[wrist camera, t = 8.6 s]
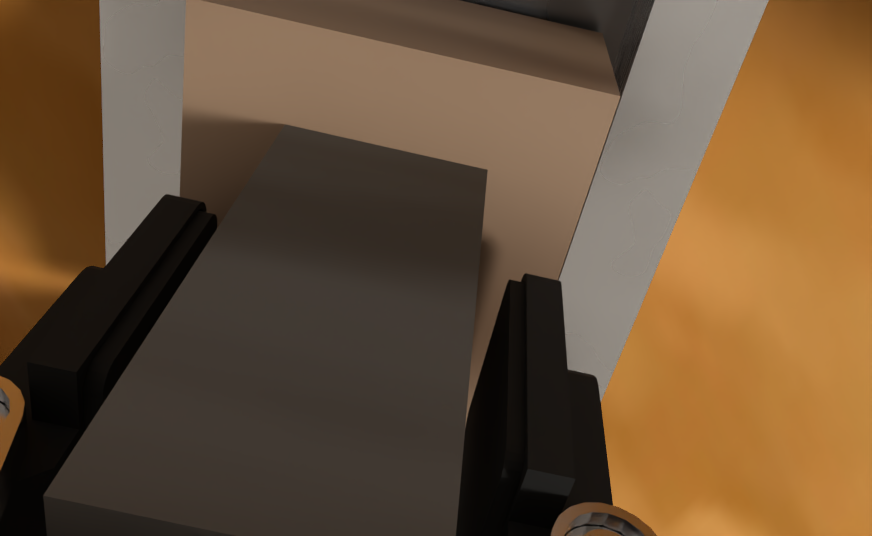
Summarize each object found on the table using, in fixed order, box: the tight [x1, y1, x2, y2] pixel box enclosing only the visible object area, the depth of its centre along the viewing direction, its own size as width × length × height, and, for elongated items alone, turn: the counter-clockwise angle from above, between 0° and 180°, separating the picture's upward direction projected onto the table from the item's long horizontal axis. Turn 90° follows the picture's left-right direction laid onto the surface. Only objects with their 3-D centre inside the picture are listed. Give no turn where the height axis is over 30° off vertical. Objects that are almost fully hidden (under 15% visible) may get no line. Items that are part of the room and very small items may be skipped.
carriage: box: [43, 0, 620, 536], centre depth 11 cm, size 8×6×10 cm
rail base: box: [99, 0, 769, 402], centre depth 12 cm, size 28×10×8 cm, turn 169°
